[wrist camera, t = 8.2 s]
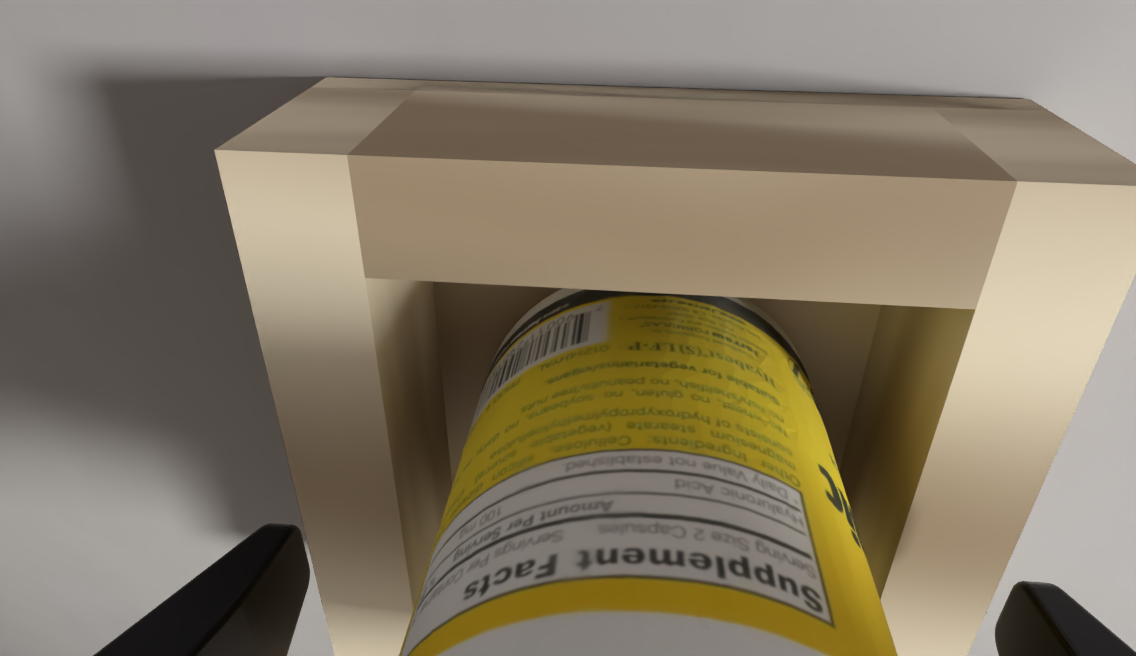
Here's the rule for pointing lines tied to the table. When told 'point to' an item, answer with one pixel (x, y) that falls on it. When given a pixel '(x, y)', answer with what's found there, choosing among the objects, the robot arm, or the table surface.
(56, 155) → the table surface
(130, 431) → the table surface
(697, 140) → the square holder
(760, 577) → the supplement bottle
